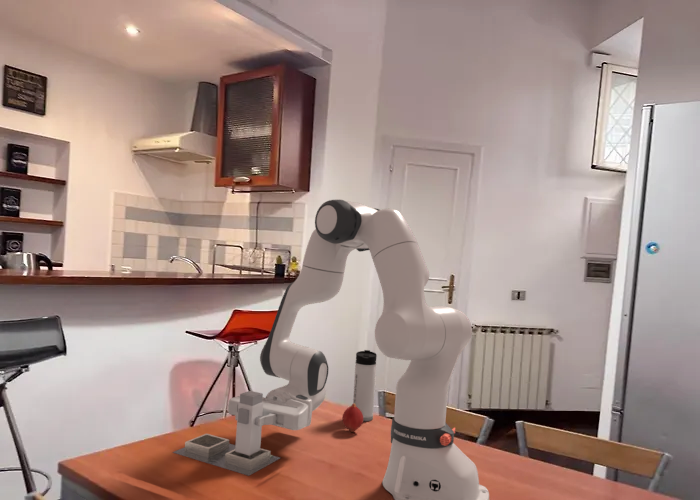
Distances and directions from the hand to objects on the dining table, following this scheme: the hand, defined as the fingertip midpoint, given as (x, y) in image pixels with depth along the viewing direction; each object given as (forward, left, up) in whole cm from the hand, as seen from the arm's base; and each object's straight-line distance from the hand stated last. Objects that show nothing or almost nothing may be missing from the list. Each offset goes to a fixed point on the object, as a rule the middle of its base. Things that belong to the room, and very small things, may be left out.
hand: (247, 419), depth 121 cm
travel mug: (-6, -49, -11) cm, 50 cm away
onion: (-9, -36, -11) cm, 39 cm away
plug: (0, -1, -7) cm, 7 cm away
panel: (+6, -1, -10) cm, 12 cm away
